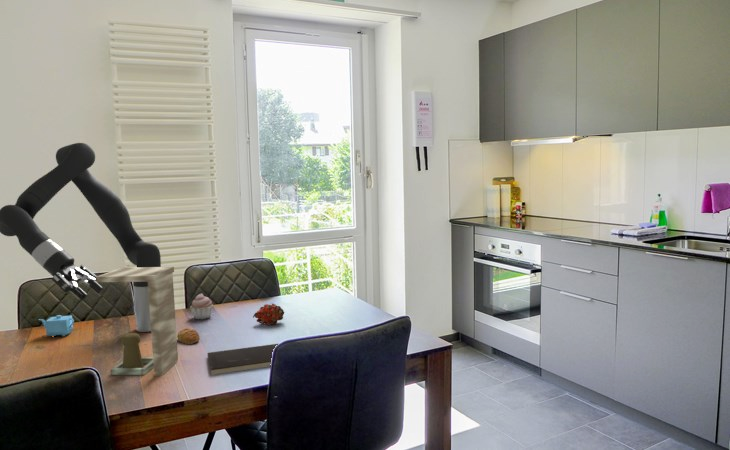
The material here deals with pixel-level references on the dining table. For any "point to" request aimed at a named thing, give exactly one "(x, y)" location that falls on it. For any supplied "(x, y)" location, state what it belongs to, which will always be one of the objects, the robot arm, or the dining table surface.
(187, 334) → the pastry
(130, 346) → the olive brown pepper mill
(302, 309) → the dining table surface
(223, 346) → the dining table surface
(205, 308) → the cupcake
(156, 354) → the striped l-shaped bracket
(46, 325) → the teapot
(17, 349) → the dining table surface
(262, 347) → the hardcover book
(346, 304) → the dining table surface
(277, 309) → the dragon fruit
